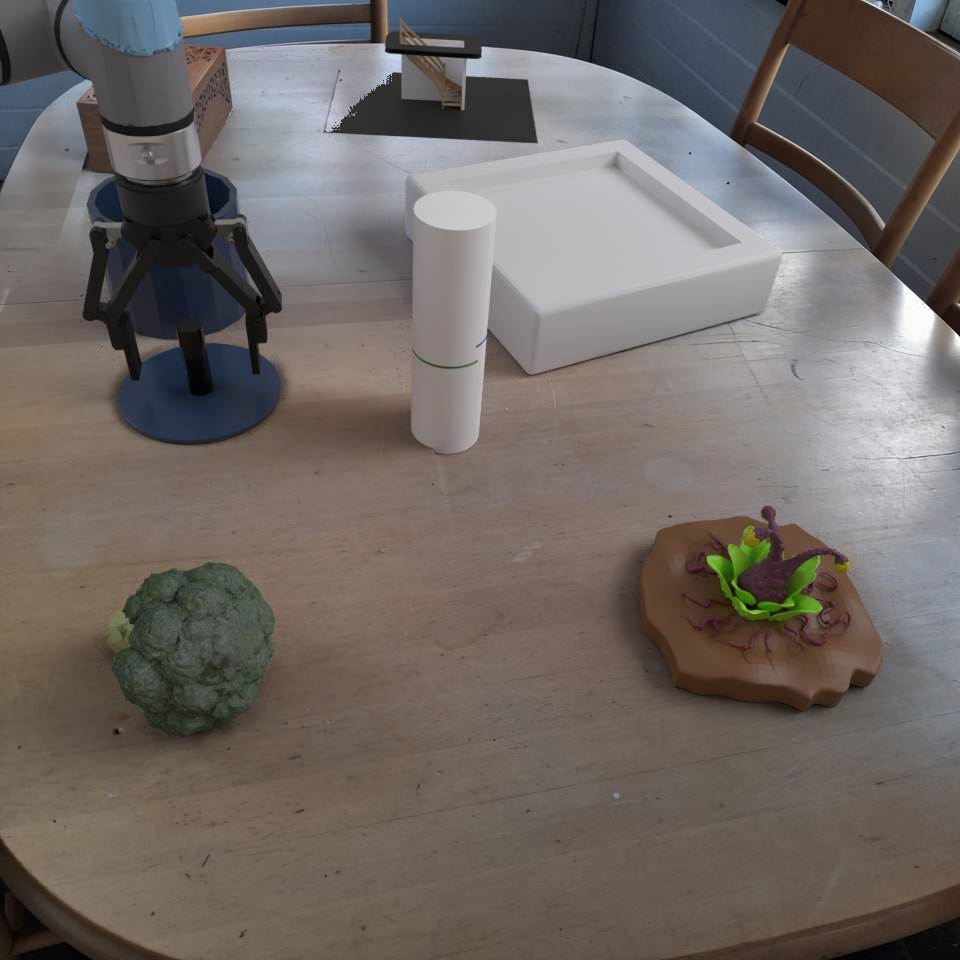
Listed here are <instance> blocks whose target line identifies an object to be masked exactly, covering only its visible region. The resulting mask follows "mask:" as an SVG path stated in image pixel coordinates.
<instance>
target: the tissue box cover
mask: <svg viewBox="0 0 960 960" xmlns="http://www.w3.org/2000/svg"><path fill="white" fill-rule="evenodd" d="M184 46H185V53H186V60H187V67H188V74H189V81H190V88H191V95H192V102H193V112H194V115H195V119H196V125H197V132H198V138H199V145H200V152H201V159H202V160H201V163H202V164H203V162H204V160H205V158H206V157H207V156H208V154H209V152H210V150H211V149H212V147H213V145H214V143H215V142H216V140H217V138H218V137H219V135H220V133H221V131H222V130H223V128H224V126H225V125H224V123H225V121H226V120H227V118H228V116H229V113H230V112H231V110H232V108H233V109H234V106H233V98H232V91H231V83H230V82H231V81H230V77H229V68H228V67H229V66H228V59H227V51H226V46H217V45H216V46H215V45H201V44H189V43H184ZM75 103H76V108H77V112H78V116H79V120H80V124H81V128H82V132H83V137H84V140H85V145H86V149H87V152H88V157H89V161H90V165H91V169H92V173H104V174H115V173H116V171H115V170H114V169H113V167H112V165H111V161H110V157H109V153H108V148H107V144H106V140H105V135H104V131H103V126H102V122H101V118H100V112H99V108H98V104H97V100H96V96H95V92H94V88H93V84H92V85H91V86H90V87H89V88H88V90H87V91H85V92H84V94H83V95H81V97H80V98H79V99H78V100H77V101H76V102H75ZM229 117H230V116H229ZM228 119H229V118H228ZM227 121H228V120H227ZM227 121H226V122H227ZM225 124H226V123H225ZM223 125H224V126H223ZM222 127H223V128H222ZM221 129H222V130H221ZM218 134H219V135H218ZM215 139H216V140H215ZM214 141H215V142H214ZM201 163H200V166H202V164H201Z"/></svg>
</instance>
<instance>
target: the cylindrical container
mask: <svg viewBox="0 0 960 960" xmlns="http://www.w3.org/2000/svg"><path fill="white" fill-rule="evenodd" d="M496 213H497V211H496V208H495V206H494V205H493V204H492V203H491V202H490V201H489V200H487V199H485V198H483V197H481V196H479V195H476V194H472V193H468V192H463V191H440V192H435V193H430V194H428V195H425V196H423V197H421V198H420V199H419V200H417V201H416V203H415V204H414V208H413V242H412V310H411V313H412V315H411V316H412V317H411V318H412V319H411V391H410V392H411V393H410V394H411V398H410V402H411V403H410V431H411V433H412V436H413V437H414V438H415V439H416V440H417V441H418V442H419V443H421V444H422V445H424V446H426V447H428V448H430V449H432V450H433V453H435V454H441V455H453V454H458V453H461V452H464V451H467V450H468V449H470V448H472V447H473V446H474V445H475V444H476V443H477V441H478V440H479V436H480V424H481V414H482V400H483V389H484V388H483V387H484V376H485V363H486V350H487V349H486V348H487V337H488V328H487V326H488V313H489V301H490V289H491V277H492V265H493V252H494V239H495V226H496Z"/></svg>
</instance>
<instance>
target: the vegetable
mask: <svg viewBox="0 0 960 960" xmlns="http://www.w3.org/2000/svg"><path fill="white" fill-rule="evenodd" d="M111 616H112V617H111V618H110V621H109V622H108V625H107V627H106V631H105V634H104V639H105V641H106V644H107V647H108V648H110V649H111V650H112V651H113V652H114V653H115V654H114V655H113V656H112V659H111V663H110V667H111V672H112V673H113V675H114V676H115V678H116V680H117V681H118V684H119V687H120V689H121V692H122V693H123V695H124V697H125V701H128V702H130V704H133V705H135V706H138V707H140V709H142V710H143V711H144V713H143V715H144V717H145V719H146V721H147V722H148V725H149V726H150V727H151V728H152V729H153V728H154V729H157V730H159V731H160V732H162V733H164V734H166V735H169V736H174V737H178V736H179V737H181V738H185V737H188V736H190V735H193V734H196V733H200V732H205V731H208V730H210V729H212V728H213V727H214V725H215V723H217V722H219V723H223V724H225V723H227V722H228V721H230V719H236V718H237V717H239V716H240V715H243V714H244V713H246V712H247V711H249V710H250V708H251V707H252V705H253V704H254V702H255V701H256V700H257V698H258V695H259V693H260V683H261V681H262V679H263V676H265V670H266V669H267V667H268V664H269V662H270V660H271V659H272V657H273V656H274V655H273V653H274V650H275V649H274V643H273V642H272V641H271V639H270V636H271V635H272V634H274V632H275V623H276V618H275V615H274V611H273V608H272V607H271V605H270V604H269V603H268V602H267V601H266V600H265V599H264V598H263V595H262V593H261V591H260V589H259V588H258V586H256V585H255V583H254V582H253V581H252V580H251V579H249V578H247V577H246V576H245V574H244V573H243V571H241V570H240V569H239V568H237V566H236V565H235V566H234V565H232V564H229V563H224V562H211V561H207V562H206V563H204V564H203V565H199V566H197V567H194V568H190V569H189V570H185V569H181V570H179V569H177V568H176V567H172V568H170V569H168V570H165V571H162V572H158V573H154V572H151V573H150V575H149V576H148V577H145V578H144V580H143V582H142V583H141V584H140V585H139V588H138V589H136V590H135V594H130V595H129V597H128V598H127V599H126V601H125V604H124V606H123V607H121V608H119V609H117V610H115V611H114V612H113V614H112V615H111Z"/></svg>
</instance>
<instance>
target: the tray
mask: <svg viewBox="0 0 960 960" xmlns="http://www.w3.org/2000/svg"><path fill="white" fill-rule="evenodd" d="M404 185H405V189H404V190H405V191H404V192H405V195H404V197H405V201H404V202H405V203H404V204H405V205H404V208H405V209H404V211H405V213H404V214H405V215H404V218H405V219H404V220H405V221H404V222H405V223H404V224H405V225H404V228H405V229H404V231H405V235H406V236H407V238H408V239H409V240H410V241H411V242H412V243H413V208H414V204H415V203H416V201H417V200H419V199H420V198H421V197H423V196H425V195H428V194H430V193H435V192H440V191H463V192H468V193H472V194H476V195H479V196H481V197H483V198H485V199H487V200H489V201H490V202H491V203H492V204H493V205H494V206H495V208H496V211H497V213H496V226H495V239H494V252H493V265H492V277H491V289H490V301H489V313H488V326H487V330H488V331H490V332H491V334H492V335H493V336H494V338H496V339H497V341H498V342H499V343H500V344H501V345H502V346H503V347H504V348H505V350H506V351H507V353H508V354H510V355H511V357H512V358H513V359H514V360H515V361H516V362H517V363H518V365H519V366H520V367H521V368H522V369H523V370H524V371H525V372H526V373H527V374H528V375H538V374H541V373H544V372H549V371H553V370H555V369H556V370H557V369H559V368H563V367H566V366H570V365H573V364H579V363H582V362H585V361H589V360H592V359H596V358H599V357H600V358H601V357H603V356H607V355H611V354H614V353H618V352H623V351H626V350H629V349H633V348H636V347H641V346H645V345H647V344H652V343H655V342H659V341H662V340H666V339H670V338H673V337H677V336H681V335H684V334H688V333H691V332H694V331H699V330H702V329H706V328H710V327H713V326H717V325H721V324H724V323H729V322H732V321H735V320H739V319H743V318H746V317H750V316H754V315H758V314H761V313H764V312H765V310H766V309H767V306H768V303H769V299H770V296H771V294H772V290H773V287H774V284H775V281H776V278H777V275H778V273H779V270H780V265H781V262H782V261H783V260H782V259H783V252H782V251H781V250H780V249H779V248H778V247H776V246H775V245H774V244H772V243H771V242H769V241H768V240H767V239H766V238H764V237H762V236H761V235H760V234H758V233H757V232H755V231H754V230H752V229H751V228H750V227H748V226H747V225H746V224H744V223H743V222H741V221H740V220H739V219H737V218H735V217H734V215H732V214H730V213H729V212H727V211H726V210H724V209H723V208H722V207H721V206H719V205H718V204H716V203H715V202H714V201H712V200H710V199H709V198H707V197H706V196H705V195H704V194H702V193H701V192H699V191H698V190H697V189H695V188H694V187H692V186H691V185H690V184H688V183H687V182H685V181H684V180H683V179H681V178H680V177H678V175H676V174H675V173H673V172H672V171H670V170H668V168H666V167H665V166H663V165H662V164H660V163H659V162H658V161H656V160H655V159H653V158H652V157H650V156H649V155H648V154H646V153H645V152H643V150H641V149H639V148H638V147H637V146H635V145H633V144H632V143H631V142H629V141H628V140H627V139H621V138H620V139H616V140H609V141H604V142H598V143H592V144H586V145H580V146H574V147H569V148H562V149H556V150H551V151H543V152H538V153H533V154H527V155H521V156H515V157H510V158H503V159H497V160H492V161H491V160H490V161H485V162H480V163H474V164H468V165H461V166H456V167H455V166H454V167H450V168H444V169H438V170H432V171H427V172H419V173H415V174H410V175H408V176H406V178H405V183H404Z"/></svg>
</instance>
